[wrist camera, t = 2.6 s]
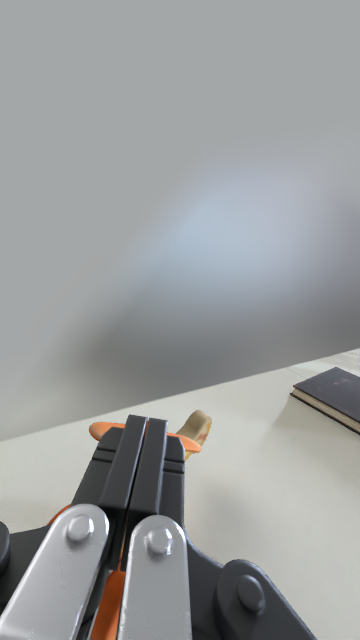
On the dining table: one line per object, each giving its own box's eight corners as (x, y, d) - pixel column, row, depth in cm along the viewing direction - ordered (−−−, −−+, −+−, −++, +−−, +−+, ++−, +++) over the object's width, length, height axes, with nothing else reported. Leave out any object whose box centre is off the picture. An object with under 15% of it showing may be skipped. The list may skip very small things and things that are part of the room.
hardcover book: (290, 394, 56) (293, 385, 55) (333, 374, 70) (335, 366, 70) (376, 444, 44) (381, 433, 44) (406, 408, 59) (410, 399, 58)
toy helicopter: (16, 589, 20) (13, 443, 16) (170, 441, 37) (187, 354, 33) (86, 694, 16) (105, 536, 12) (222, 474, 33) (248, 380, 29)
